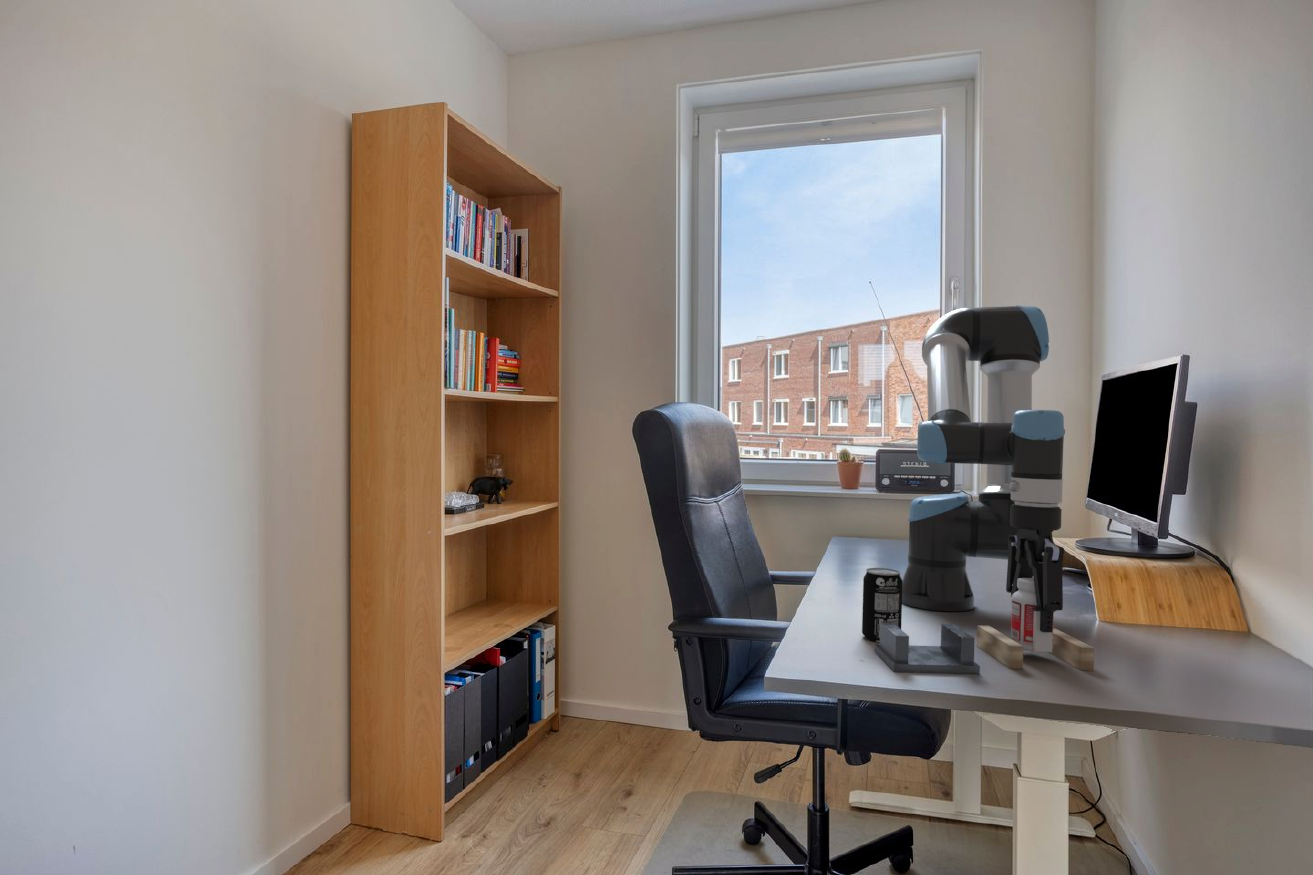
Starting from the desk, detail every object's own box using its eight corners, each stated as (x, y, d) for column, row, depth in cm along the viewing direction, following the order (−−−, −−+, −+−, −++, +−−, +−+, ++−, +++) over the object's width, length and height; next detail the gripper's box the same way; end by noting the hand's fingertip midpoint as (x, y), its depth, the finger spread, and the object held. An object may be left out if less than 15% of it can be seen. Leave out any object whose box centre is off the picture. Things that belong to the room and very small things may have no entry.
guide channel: (976, 645, 127) (977, 625, 127) (1052, 647, 127) (1053, 627, 127) (1009, 668, 115) (1010, 646, 115) (1093, 670, 115) (1094, 648, 115)
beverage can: (873, 631, 134) (875, 565, 134) (907, 639, 130) (909, 571, 129) (854, 637, 130) (856, 570, 130) (889, 646, 125) (891, 576, 125)
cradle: (874, 651, 122) (875, 620, 122) (953, 653, 122) (954, 622, 122) (893, 671, 112) (894, 637, 112) (979, 673, 112) (980, 639, 112)
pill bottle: (1060, 649, 120) (1062, 581, 120) (1039, 655, 117) (1041, 585, 116) (1023, 640, 125) (1025, 575, 125) (1002, 645, 122) (1004, 578, 122)
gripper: (986, 498, 130) (983, 628, 130) (1042, 509, 111) (1038, 662, 111) (1029, 499, 130) (1025, 629, 130) (1092, 511, 111) (1088, 663, 111)
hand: (1031, 644), depth 121 cm, fingers closed on pill bottle, 6 cm apart
